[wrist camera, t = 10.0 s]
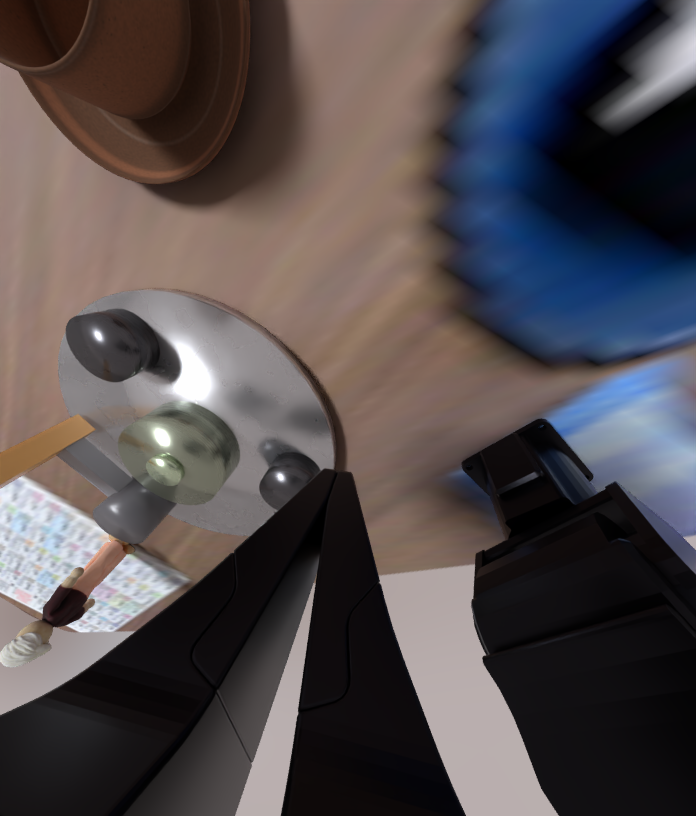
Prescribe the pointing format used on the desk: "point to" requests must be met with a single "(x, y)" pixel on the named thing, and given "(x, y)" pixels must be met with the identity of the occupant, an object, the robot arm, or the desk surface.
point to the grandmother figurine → (65, 604)
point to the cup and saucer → (134, 77)
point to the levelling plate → (196, 405)
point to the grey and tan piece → (91, 478)
